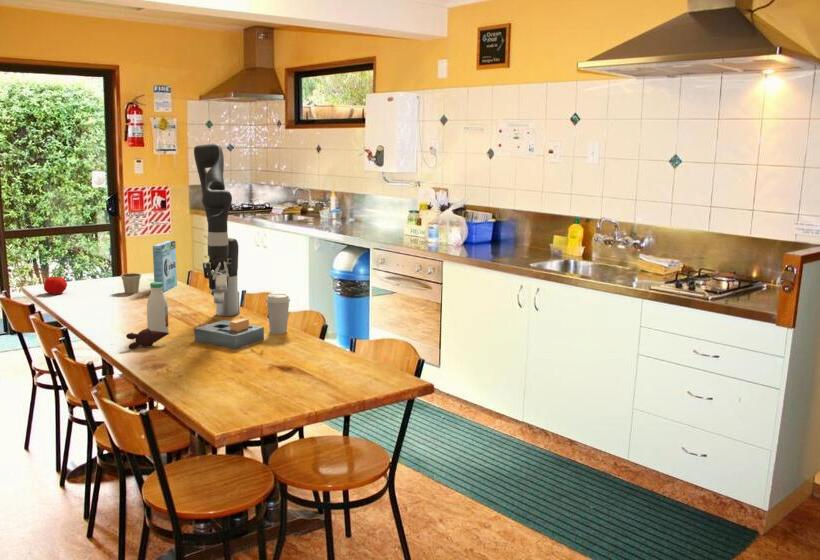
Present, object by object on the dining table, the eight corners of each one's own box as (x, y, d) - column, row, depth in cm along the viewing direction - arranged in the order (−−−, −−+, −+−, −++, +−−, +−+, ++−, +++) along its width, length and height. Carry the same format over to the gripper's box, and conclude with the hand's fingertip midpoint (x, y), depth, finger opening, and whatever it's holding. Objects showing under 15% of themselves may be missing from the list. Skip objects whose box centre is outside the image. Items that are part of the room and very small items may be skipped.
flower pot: (137, 294, 359) (137, 277, 358) (118, 294, 359) (117, 276, 358) (144, 290, 368) (144, 273, 367) (125, 290, 369) (125, 273, 367)
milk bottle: (162, 336, 287) (160, 285, 283) (143, 334, 289) (141, 283, 285) (172, 331, 295) (170, 281, 291) (154, 329, 296) (152, 280, 292)
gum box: (163, 292, 366) (162, 246, 362) (153, 292, 366) (151, 245, 362) (177, 285, 385) (176, 240, 381) (167, 284, 385) (166, 240, 381)
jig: (224, 332, 295) (223, 318, 294) (263, 339, 286) (263, 325, 285) (194, 341, 281) (194, 326, 280) (235, 349, 272) (235, 334, 271)
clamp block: (242, 326, 284) (242, 318, 283) (248, 328, 283) (248, 319, 282) (230, 330, 278) (229, 321, 277) (236, 331, 277) (236, 323, 276)
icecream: (163, 324, 280) (122, 332, 272) (169, 323, 274) (128, 332, 265) (167, 342, 280) (126, 351, 272) (173, 342, 274) (131, 351, 266)
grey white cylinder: (218, 300, 287) (218, 271, 285) (230, 302, 284) (230, 273, 282) (207, 302, 282) (206, 274, 280) (219, 304, 279) (218, 275, 277)
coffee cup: (261, 331, 297) (260, 295, 295) (280, 328, 304) (280, 291, 302) (275, 336, 291) (275, 299, 288) (295, 332, 298) (295, 295, 295)
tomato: (40, 293, 355) (39, 276, 354) (60, 290, 363) (59, 273, 362) (51, 296, 350) (49, 279, 348) (71, 293, 358) (70, 276, 357)
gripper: (223, 241, 287) (224, 284, 290) (196, 244, 274) (197, 289, 277) (238, 242, 283) (239, 286, 286) (211, 246, 271) (212, 292, 274)
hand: (218, 287), depth 282 cm, fingers closed on grey white cylinder, 6 cm apart
